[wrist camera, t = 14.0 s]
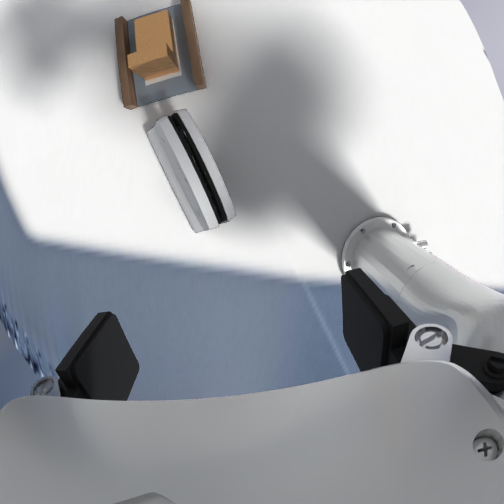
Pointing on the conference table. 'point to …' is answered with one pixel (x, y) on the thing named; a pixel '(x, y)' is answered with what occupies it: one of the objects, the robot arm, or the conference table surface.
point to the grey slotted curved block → (191, 171)
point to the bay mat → (171, 82)
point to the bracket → (154, 46)
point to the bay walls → (124, 50)
